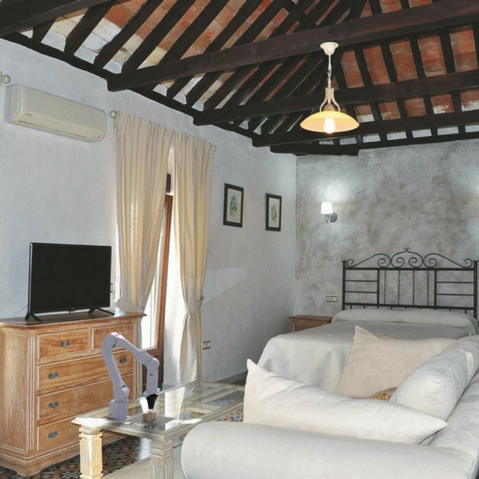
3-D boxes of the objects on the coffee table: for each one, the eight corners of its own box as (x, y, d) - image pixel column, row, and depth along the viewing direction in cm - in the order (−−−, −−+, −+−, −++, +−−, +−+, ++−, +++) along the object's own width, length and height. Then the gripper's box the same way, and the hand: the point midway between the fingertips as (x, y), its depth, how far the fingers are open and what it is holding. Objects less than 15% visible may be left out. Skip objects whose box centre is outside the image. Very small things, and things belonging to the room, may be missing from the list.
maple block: (149, 417, 295) (142, 420, 288) (149, 410, 295) (142, 413, 288) (155, 418, 293) (148, 421, 287) (155, 411, 294) (148, 414, 287)
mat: (124, 422, 285) (124, 421, 285) (142, 413, 302) (142, 413, 302) (159, 427, 278) (159, 426, 278) (176, 419, 295) (176, 418, 295)
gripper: (151, 385, 285) (150, 413, 284) (165, 380, 298) (164, 406, 298) (139, 384, 287) (138, 411, 287) (154, 379, 301) (152, 405, 300)
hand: (150, 408), depth 292 cm, fingers closed
